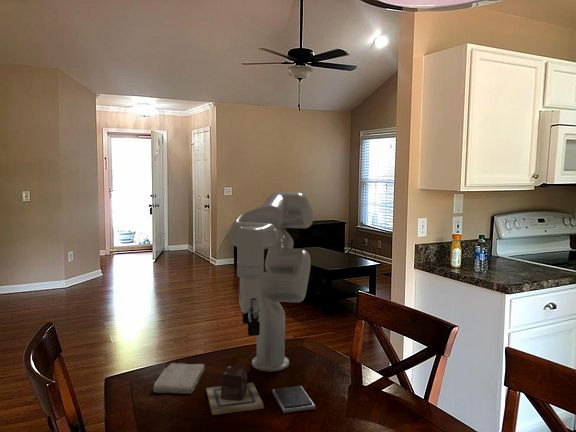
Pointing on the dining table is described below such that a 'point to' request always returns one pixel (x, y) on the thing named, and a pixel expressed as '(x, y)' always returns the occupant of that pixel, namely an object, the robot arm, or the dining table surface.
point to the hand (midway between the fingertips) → (250, 329)
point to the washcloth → (179, 378)
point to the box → (234, 383)
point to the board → (233, 401)
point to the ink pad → (293, 399)
